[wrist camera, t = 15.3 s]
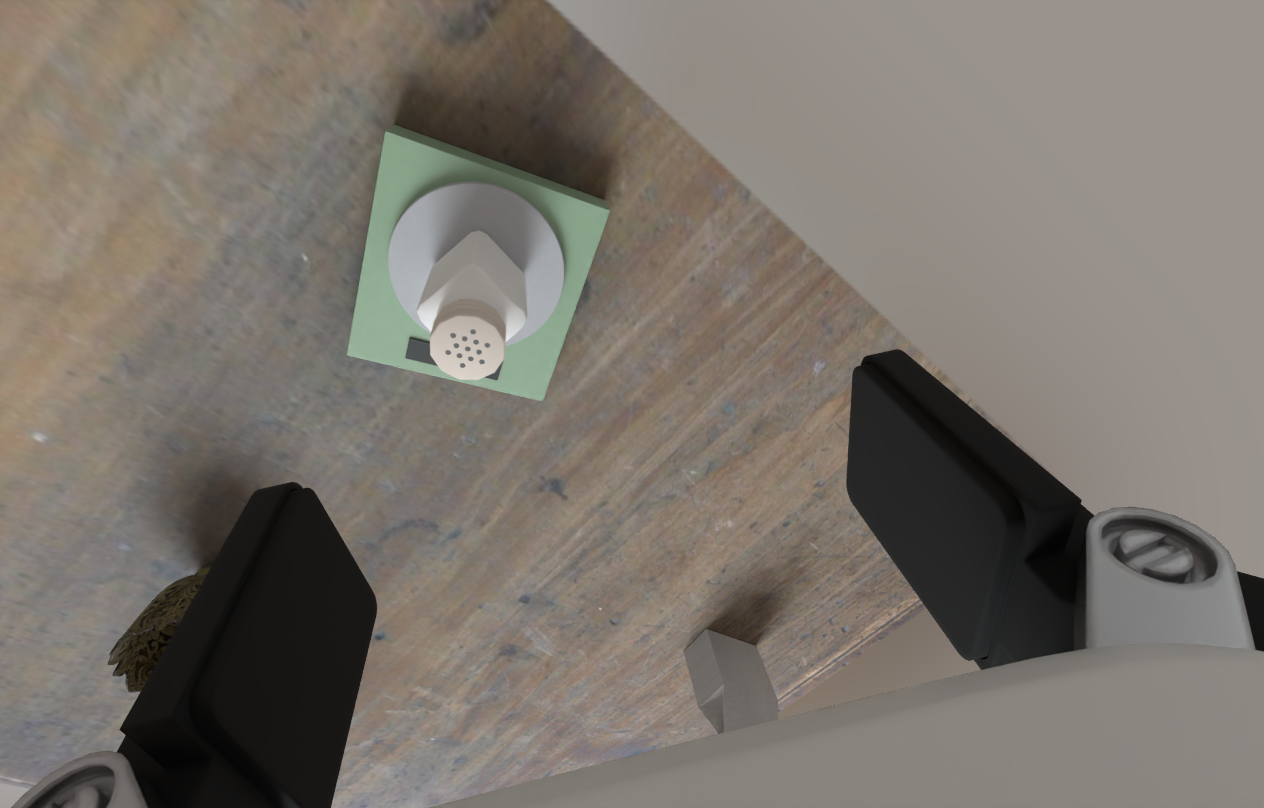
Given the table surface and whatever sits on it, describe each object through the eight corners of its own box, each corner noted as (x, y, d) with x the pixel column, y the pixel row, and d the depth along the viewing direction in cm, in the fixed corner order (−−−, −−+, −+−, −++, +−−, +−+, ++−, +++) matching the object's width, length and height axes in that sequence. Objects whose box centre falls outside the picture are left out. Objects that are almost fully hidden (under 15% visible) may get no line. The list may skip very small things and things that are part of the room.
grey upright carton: (706, 628, 59) (737, 729, 50) (756, 645, 61) (794, 743, 53) (683, 651, 60) (710, 752, 52) (733, 667, 63) (767, 765, 54)
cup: (287, 550, 45) (247, 640, 39) (272, 614, 49) (233, 708, 42) (172, 530, 43) (108, 623, 36) (164, 600, 46) (104, 697, 39)
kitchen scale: (393, 124, 32) (382, 132, 29) (605, 200, 36) (612, 213, 33) (355, 337, 38) (344, 360, 35) (541, 383, 41) (542, 406, 39)
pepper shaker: (425, 269, 33) (397, 345, 25) (479, 222, 32) (467, 285, 24) (478, 319, 35) (468, 405, 27) (530, 276, 34) (534, 352, 26)
